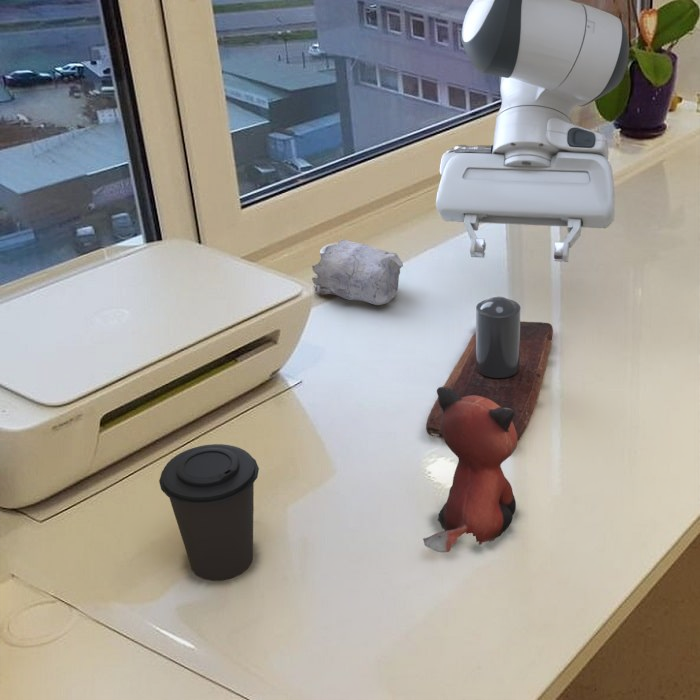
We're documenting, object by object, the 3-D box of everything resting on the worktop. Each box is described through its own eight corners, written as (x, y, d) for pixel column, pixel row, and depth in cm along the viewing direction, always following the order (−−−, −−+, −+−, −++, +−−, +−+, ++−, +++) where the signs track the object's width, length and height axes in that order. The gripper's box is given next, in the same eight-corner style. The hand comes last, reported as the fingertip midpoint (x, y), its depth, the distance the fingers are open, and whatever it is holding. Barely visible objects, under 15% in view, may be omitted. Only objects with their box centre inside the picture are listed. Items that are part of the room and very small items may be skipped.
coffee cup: (255, 595, 87) (242, 494, 82) (160, 588, 88) (142, 489, 83) (278, 533, 94) (268, 437, 89) (190, 527, 95) (175, 432, 90)
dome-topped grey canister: (515, 356, 116) (516, 287, 112) (523, 376, 112) (524, 306, 108) (473, 358, 116) (473, 290, 112) (479, 379, 112) (479, 309, 108)
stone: (387, 315, 130) (385, 263, 127) (304, 299, 136) (300, 249, 132) (416, 290, 136) (415, 240, 133) (336, 276, 142) (332, 227, 138)
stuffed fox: (395, 552, 90) (389, 433, 85) (453, 483, 99) (452, 370, 93) (476, 579, 87) (476, 456, 81) (530, 505, 95) (533, 389, 89)
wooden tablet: (481, 310, 127) (565, 309, 123) (483, 327, 128) (567, 326, 124) (418, 428, 105) (518, 431, 101) (421, 447, 106) (520, 451, 102)
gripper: (439, 132, 124) (423, 242, 120) (620, 135, 118) (609, 251, 115) (447, 157, 130) (432, 263, 126) (620, 161, 124) (610, 272, 121)
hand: (518, 257), depth 120 cm, fingers open, 8 cm apart
